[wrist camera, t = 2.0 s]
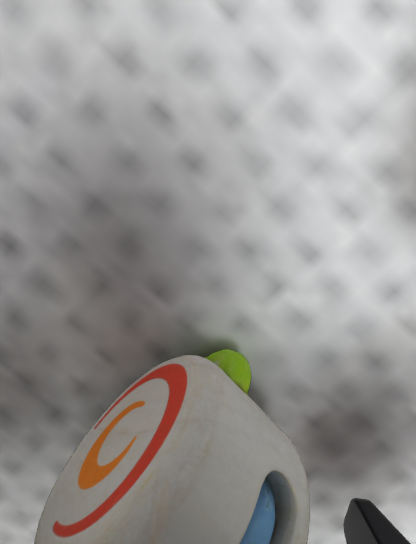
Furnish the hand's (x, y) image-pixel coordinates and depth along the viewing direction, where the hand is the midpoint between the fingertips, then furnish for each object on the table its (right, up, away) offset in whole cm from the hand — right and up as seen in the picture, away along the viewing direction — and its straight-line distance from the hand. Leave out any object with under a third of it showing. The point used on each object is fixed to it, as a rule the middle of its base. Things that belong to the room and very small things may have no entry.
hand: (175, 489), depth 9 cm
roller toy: (0, +1, +3) cm, 3 cm away
